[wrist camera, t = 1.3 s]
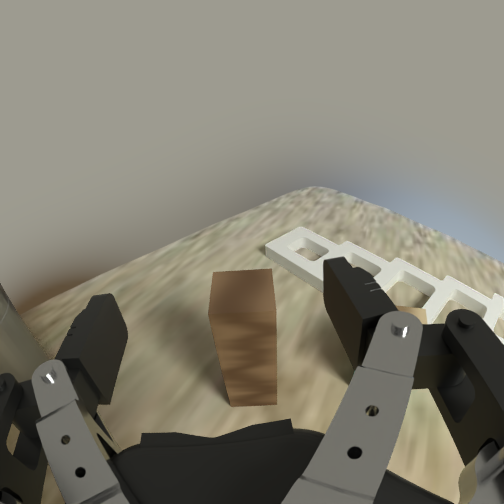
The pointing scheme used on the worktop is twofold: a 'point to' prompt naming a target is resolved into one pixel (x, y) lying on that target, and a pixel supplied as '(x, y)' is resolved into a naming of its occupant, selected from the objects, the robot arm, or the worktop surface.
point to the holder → (380, 274)
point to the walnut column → (245, 334)
